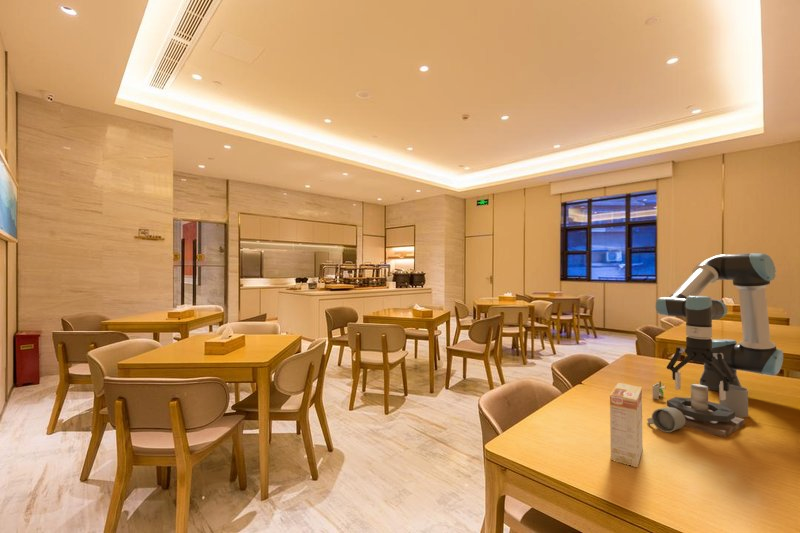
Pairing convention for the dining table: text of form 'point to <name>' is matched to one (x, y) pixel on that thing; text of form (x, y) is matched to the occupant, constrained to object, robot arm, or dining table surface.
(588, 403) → the dining table surface
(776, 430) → the dining table surface
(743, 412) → the cup
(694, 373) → the dining table surface
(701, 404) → the pipe stand
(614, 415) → the coffeecake box
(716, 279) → the robot arm
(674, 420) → the ceramic mug
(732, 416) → the ring
